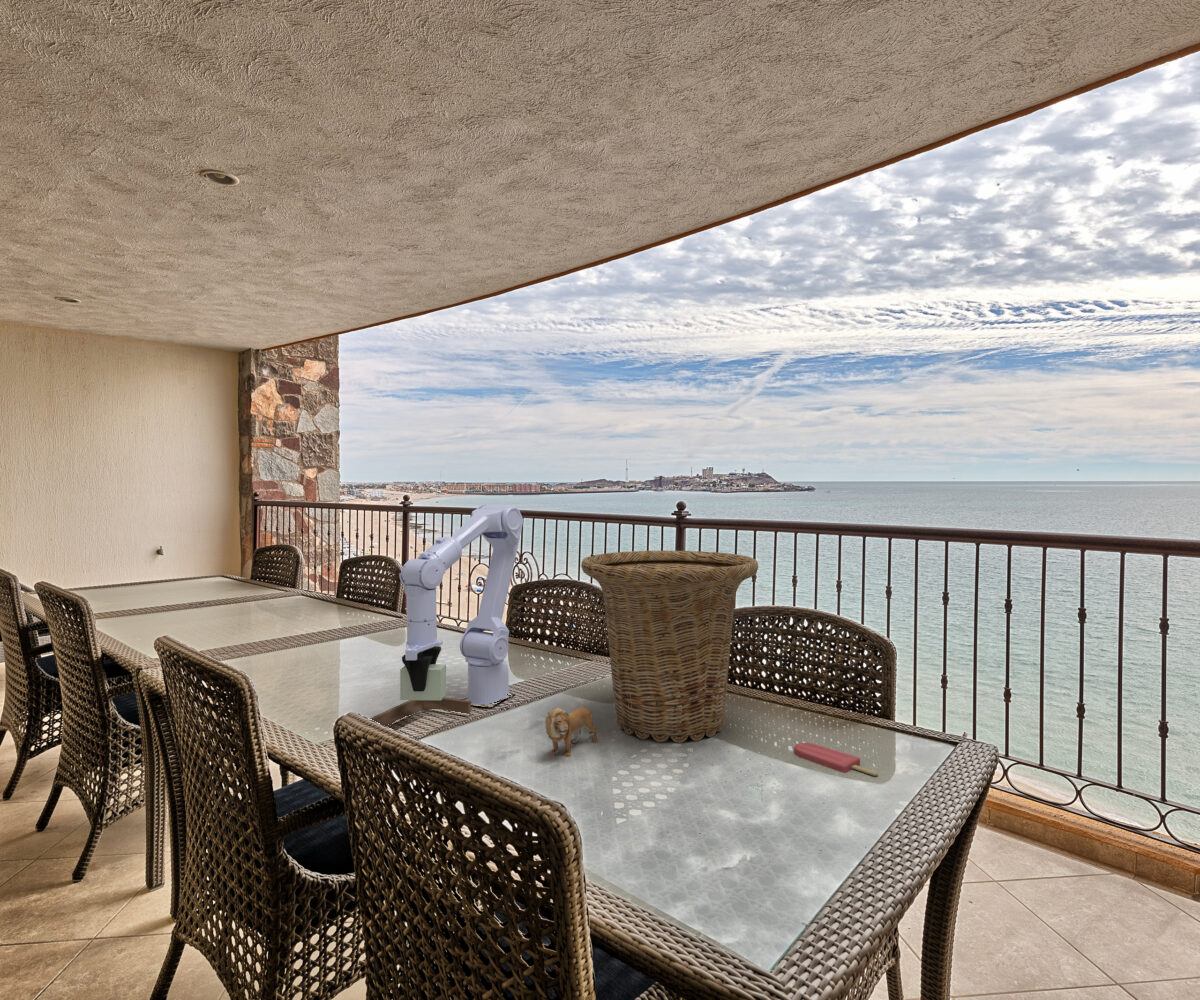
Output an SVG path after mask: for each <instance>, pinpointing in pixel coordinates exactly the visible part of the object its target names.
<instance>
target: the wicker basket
mask: <svg viewBox="0 0 1200 1000" xmlns="http://www.w3.org/2000/svg"><path fill="white" fill-rule="evenodd" d="M580 564H581V566H580V567H581V570H582V572H583V573H584V574H585V575H586V576H588V577H590V578H592V579H594V580H596V582H597V583H598V584H599V586H600V588H601V591H602V595H603V601H604V609H605V618H606V619H605V620H606V630H607V640H608V651H609V660H610V671H611V679H612V682H611V683H612V690H613V691H612V692H613V699H614V700H613V701H614V707H615V715H616V722H617V726H618V728H619V729H620V730H622V729H623V730H624V733H626V734H627V735H629V736H630V735H633V734H634V733H635V735H636V737H637V738H639V739H640V740H647V739H648V738H650V735H651V737H652V739H653V740H654V741H655V742H657V743H665V742H667V741H668V739H669V738H671V740H672V741H673V742H674V743H677V744H682V743H684V742H685V741H687V740H688V737H689V738H690V739H691V740H692V741H694V742H699V741H701V740H703V738H704V736H707V737H708V738H712V737H714V736H715V734H716V733H717V732H721V731H722V729H723V724H724V715H725V709H726V708H725V706H726V697H727V687H728V677H729V675H728V674H729V667H730V666H729V664H730V655H731V654H730V653H731V642H732V632H733V622H734V610H735V601H736V600H735V599H736V596H737V595H736V594H737V591H738V589H739V587H740V585H741V584H742V583H743V582H744V581H745V580H747V579H750V578H752V577H753V576H754V575H756V574H757V572H758V570H759V562H758V560H756V559H755V558H753V557H750V556H747V555H743V554H736V553H735V554H734V553H729V552H718V551H696V550H634V551H632V550H631V551H618V552H608V553H606V552H605V553H600V554H599V553H598V554H594V555H590V556H587V557H584V558H583V559H582V561H581V563H580Z"/></svg>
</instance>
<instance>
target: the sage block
mask: <svg viewBox="0 0 1200 1000" xmlns="http://www.w3.org/2000/svg"><path fill="white" fill-rule="evenodd" d="M399 675H400V676H399V682H400V683H399V684H400V686H399V687H400V690H399V692H400V693H399V696H400V697H399V699H400V701H409V700H442V698H443V697H445V696H446V695H447V664H437V663H436V664H430V665H429V668H428V673H427V681H426V687H425V691H413V688H412V684H411V680H410V676H409V673H408V671H407V668H406V667H405V665H403V666H402V668H401V669H400V671H399Z"/></svg>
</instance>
